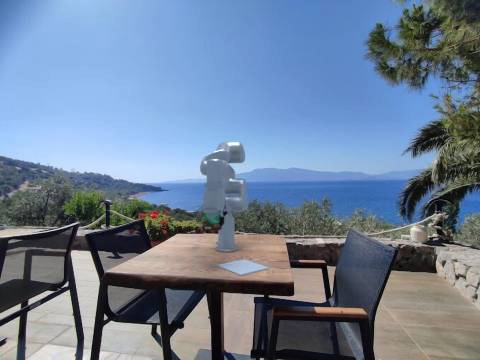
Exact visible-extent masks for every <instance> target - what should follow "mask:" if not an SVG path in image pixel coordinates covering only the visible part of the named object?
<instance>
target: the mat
mask: <svg viewBox="0 0 480 360" xmlns="http://www.w3.org/2000/svg"><path fill="white" fill-rule="evenodd" d="M216 267H218V268H220V269H223V270H226V271H228V272H229V273H232V274H235V275H238V276H240V277H243V276H247V275H250V274H255V273H258V272H263V271H266V270H269V269H270V267H269V266H266V265H262V264H260V263H256V262H253V261H250V260H247V259H240V260H234V261H229V262H225V263H221V264H220V263H219V264H217V265H216Z"/></svg>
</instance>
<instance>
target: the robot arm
mask: <svg viewBox="0 0 480 360" xmlns="http://www.w3.org/2000/svg"><path fill="white" fill-rule="evenodd" d="M245 160H246V152H245V148H244V145H243V144H242V142H240V141H222V142H220V143H219V144H218V145H217V148H216V151H213V152H210V153H208V154H206V155H204V157H203V158H202V160H201V162H200V165H199V171H200V173H201V175H203V176H206V182H205V183H204V184H203V187H205V188H204V192H203V197H202V198H203V199H202V204H201V205H200V206H199V207H198V210H199V211H200V212H201V214H203V215H204V213H203V210H204V208H217V210H218V211H221V213H220V215H221V217H220V226H222V229H221V230H217V232H218V234H217V235H218V237H217V239H218V241H216V242H215V244H216V245H217V246H216V247H215V250H216V251H217V252H221V253H222V252H223V253H230V252H235V251H237V250H238V247H237V246H235V245H236V244H235V241H236V239H235V225H236V224H235V217H234V216H233V215H232V213H238V212H239V213H240V212H241V213H242V212H245V211H246V210H247V206H248V205H247V203H248V201H247V200H248V186H247V185H248V184H247V181H246V180H245V178H236V171H235V169H234V167H232V165H230V164H243V163H244V162H245ZM223 210H224V212H222V211H223Z"/></svg>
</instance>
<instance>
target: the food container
mask: <svg viewBox="0 0 480 360" xmlns="http://www.w3.org/2000/svg"><path fill="white" fill-rule="evenodd" d="M222 212H224V210H223V211H222ZM203 213H204V214H203ZM203 213H202V214H203V220H204V221H203V222H204V231H206V232H207V231H211V232H212V231H213V232H214V231H218V230H221V229H222V226H220V217H221V215H220V213H221V211H218V210H217V208H204V210H203Z"/></svg>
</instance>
